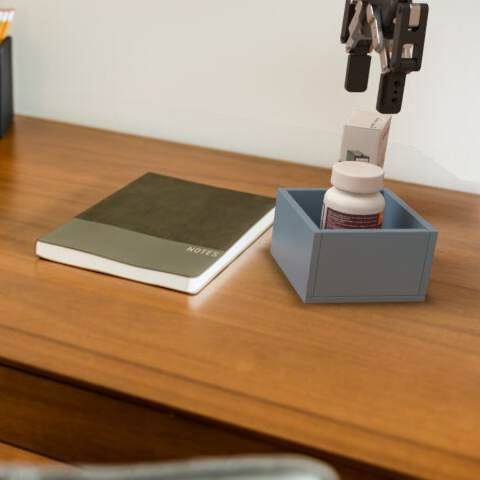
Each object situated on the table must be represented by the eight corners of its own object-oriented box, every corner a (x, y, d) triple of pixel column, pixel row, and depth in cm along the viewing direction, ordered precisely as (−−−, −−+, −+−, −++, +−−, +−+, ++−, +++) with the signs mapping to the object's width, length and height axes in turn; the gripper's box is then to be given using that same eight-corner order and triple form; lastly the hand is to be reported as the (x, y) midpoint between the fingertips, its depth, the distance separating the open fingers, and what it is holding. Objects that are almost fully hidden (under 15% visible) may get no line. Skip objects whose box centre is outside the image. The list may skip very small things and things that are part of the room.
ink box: (341, 193, 120) (354, 107, 116) (379, 200, 118) (394, 112, 114) (329, 214, 113) (342, 122, 108) (369, 221, 111) (384, 129, 106)
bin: (376, 252, 102) (387, 187, 99) (424, 302, 91) (438, 231, 88) (269, 253, 101) (277, 187, 98) (304, 304, 89) (314, 232, 86)
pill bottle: (382, 282, 93) (400, 178, 89) (325, 283, 92) (341, 178, 88) (360, 257, 99) (376, 159, 94) (306, 258, 98) (319, 159, 93)
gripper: (471, -65, 76) (438, 121, 82) (402, -77, 89) (379, 85, 95) (386, -67, 75) (360, 121, 81) (329, -79, 88) (310, 84, 94)
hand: (370, 101), depth 88 cm, fingers open, 8 cm apart
